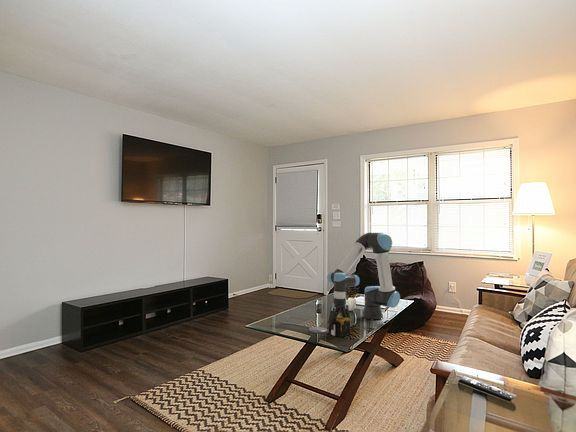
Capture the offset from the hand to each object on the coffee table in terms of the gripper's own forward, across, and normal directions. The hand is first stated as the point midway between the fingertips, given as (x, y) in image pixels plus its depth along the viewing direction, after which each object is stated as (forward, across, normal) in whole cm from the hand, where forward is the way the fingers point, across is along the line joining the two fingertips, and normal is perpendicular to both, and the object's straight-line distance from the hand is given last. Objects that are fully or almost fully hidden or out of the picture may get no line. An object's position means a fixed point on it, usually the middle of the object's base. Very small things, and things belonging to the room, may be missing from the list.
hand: (339, 333), depth 213 cm
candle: (+1, 0, 0) cm, 1 cm away
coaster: (0, +6, -13) cm, 14 cm away
